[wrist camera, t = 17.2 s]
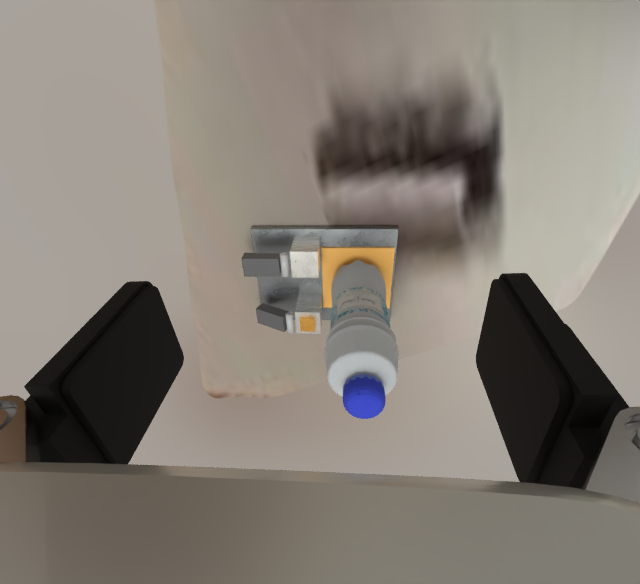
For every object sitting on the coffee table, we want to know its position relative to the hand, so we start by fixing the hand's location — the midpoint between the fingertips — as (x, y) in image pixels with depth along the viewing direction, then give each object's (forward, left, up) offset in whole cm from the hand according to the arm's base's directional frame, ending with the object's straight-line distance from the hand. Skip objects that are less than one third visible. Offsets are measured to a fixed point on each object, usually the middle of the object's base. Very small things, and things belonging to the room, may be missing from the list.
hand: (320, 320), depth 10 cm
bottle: (-2, +17, -31) cm, 35 cm away
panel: (+2, +17, -32) cm, 36 cm away
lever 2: (+8, +21, -28) cm, 36 cm away
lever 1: (+8, +13, -27) cm, 31 cm away
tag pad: (-2, +17, -31) cm, 35 cm away
